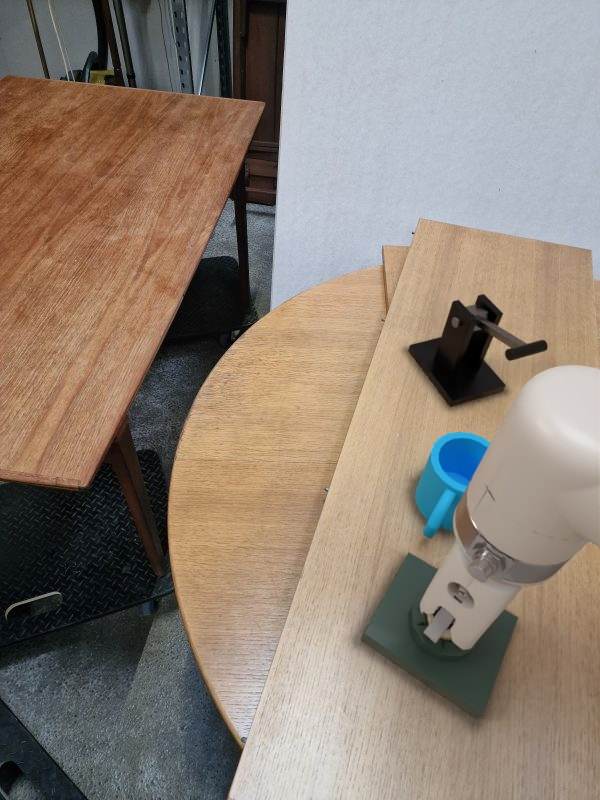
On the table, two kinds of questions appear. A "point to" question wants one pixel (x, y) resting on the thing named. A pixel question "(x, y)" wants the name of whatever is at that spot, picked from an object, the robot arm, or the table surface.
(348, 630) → the table surface
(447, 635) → the stop button
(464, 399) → the lever bracket
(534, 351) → the press lever
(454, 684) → the button housing
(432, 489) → the mug
